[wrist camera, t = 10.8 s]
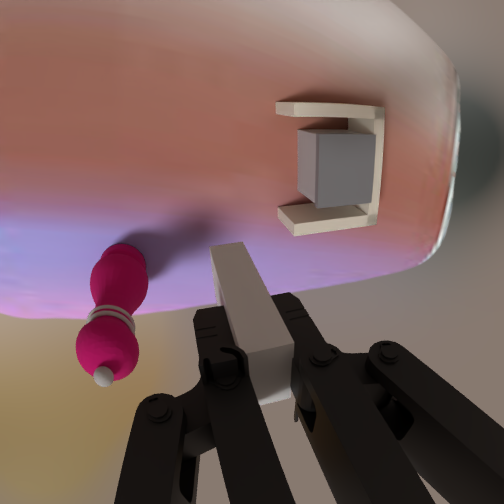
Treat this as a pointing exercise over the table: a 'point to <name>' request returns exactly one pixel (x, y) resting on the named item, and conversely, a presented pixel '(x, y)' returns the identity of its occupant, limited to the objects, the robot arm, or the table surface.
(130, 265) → the pepper mill
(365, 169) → the rounded grey cube
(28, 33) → the table surface
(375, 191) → the bay
